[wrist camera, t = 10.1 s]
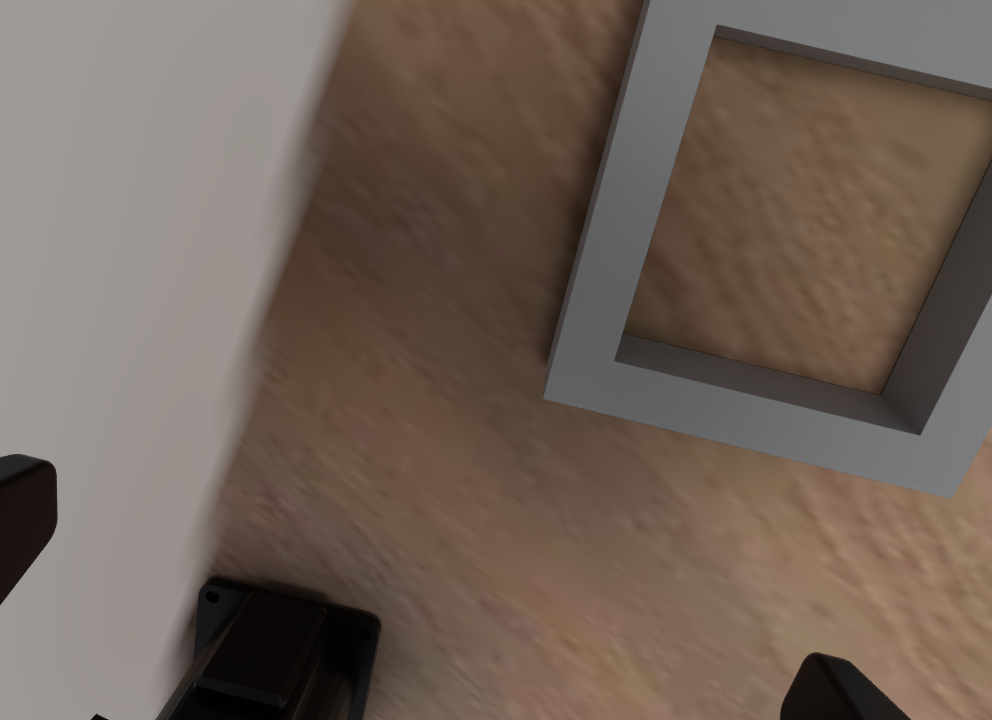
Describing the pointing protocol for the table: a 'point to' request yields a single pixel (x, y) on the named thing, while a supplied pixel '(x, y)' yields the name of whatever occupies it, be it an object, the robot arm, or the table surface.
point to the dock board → (753, 389)
